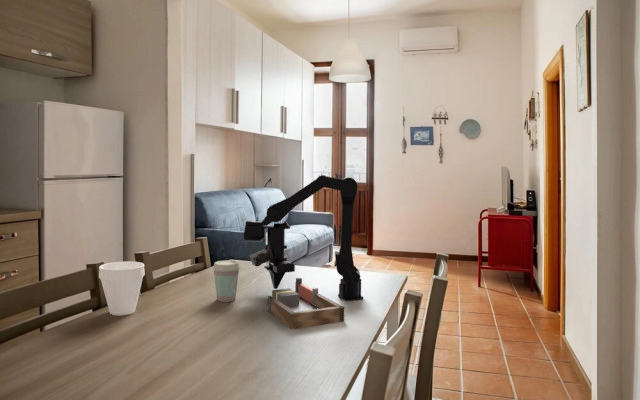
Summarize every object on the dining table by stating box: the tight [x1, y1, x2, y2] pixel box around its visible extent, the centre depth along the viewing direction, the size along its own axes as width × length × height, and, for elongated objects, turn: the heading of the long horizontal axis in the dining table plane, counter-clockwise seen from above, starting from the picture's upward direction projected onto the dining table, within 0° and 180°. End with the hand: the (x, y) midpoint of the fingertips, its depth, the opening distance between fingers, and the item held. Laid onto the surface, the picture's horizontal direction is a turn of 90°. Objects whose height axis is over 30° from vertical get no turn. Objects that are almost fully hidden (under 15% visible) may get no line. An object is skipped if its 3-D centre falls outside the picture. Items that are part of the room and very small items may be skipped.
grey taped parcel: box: [271, 288, 300, 308], centre depth 151 cm, size 6×8×4 cm
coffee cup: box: [212, 259, 241, 303], centre depth 154 cm, size 8×8×12 cm
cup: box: [98, 260, 146, 316], centre depth 139 cm, size 12×12×14 cm
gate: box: [294, 277, 319, 306], centre depth 155 cm, size 15×2×6 cm, turn 27°
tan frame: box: [267, 293, 345, 330], centre depth 138 cm, size 16×18×4 cm
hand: (275, 288), depth 159 cm, fingers closed
